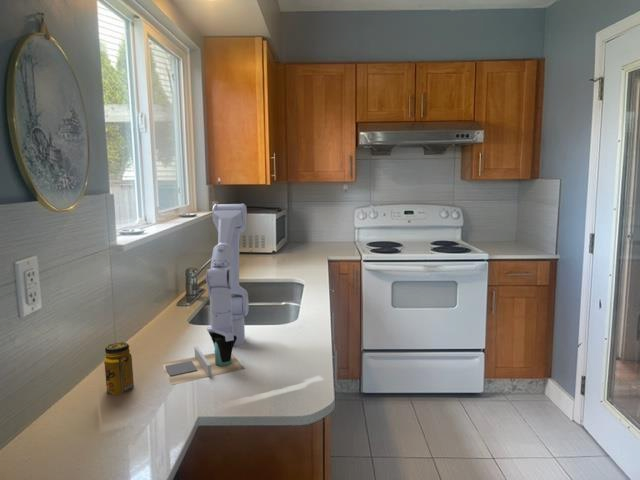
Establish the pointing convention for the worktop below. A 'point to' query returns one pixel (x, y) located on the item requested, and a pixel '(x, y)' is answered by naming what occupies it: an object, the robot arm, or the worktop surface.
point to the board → (200, 372)
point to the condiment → (118, 368)
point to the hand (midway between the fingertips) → (223, 358)
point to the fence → (203, 361)
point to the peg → (218, 358)
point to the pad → (181, 368)
